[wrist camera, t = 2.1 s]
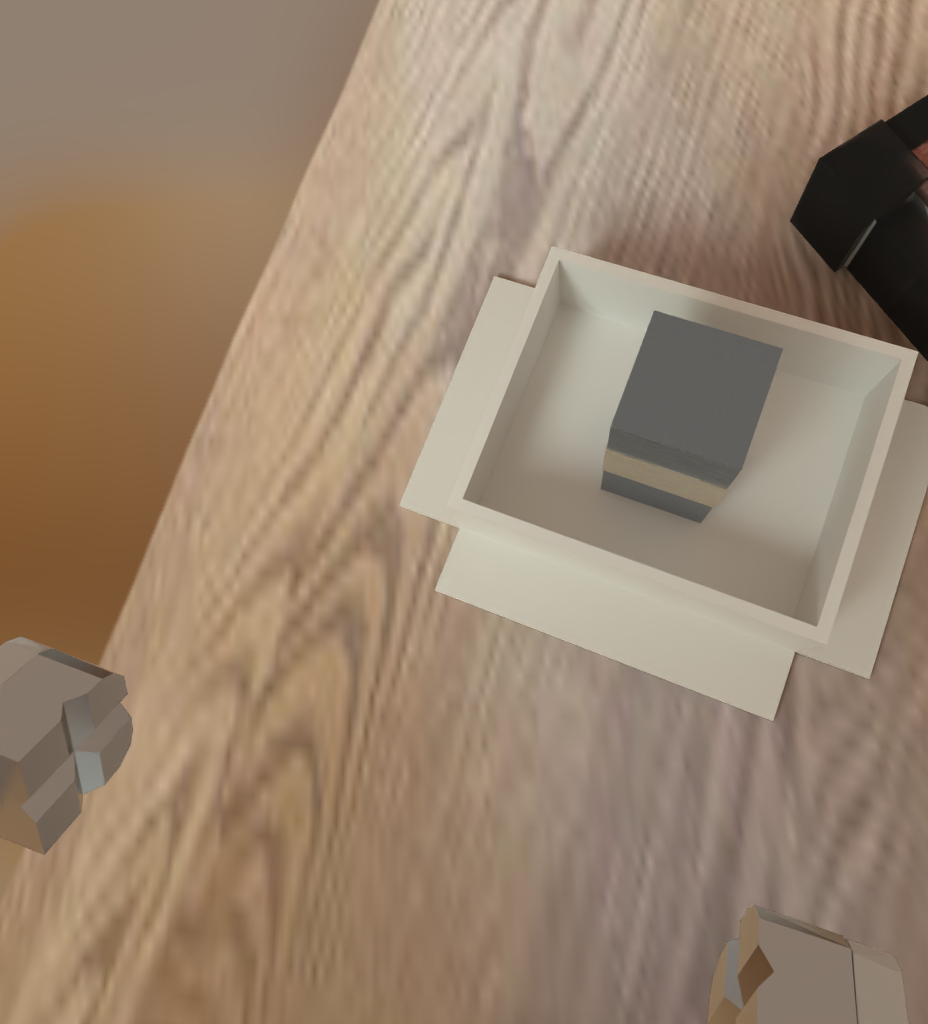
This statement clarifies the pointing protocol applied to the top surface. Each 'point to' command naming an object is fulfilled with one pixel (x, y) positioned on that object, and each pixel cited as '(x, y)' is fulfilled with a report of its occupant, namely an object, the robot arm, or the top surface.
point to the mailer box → (656, 533)
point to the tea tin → (687, 416)
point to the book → (877, 216)
